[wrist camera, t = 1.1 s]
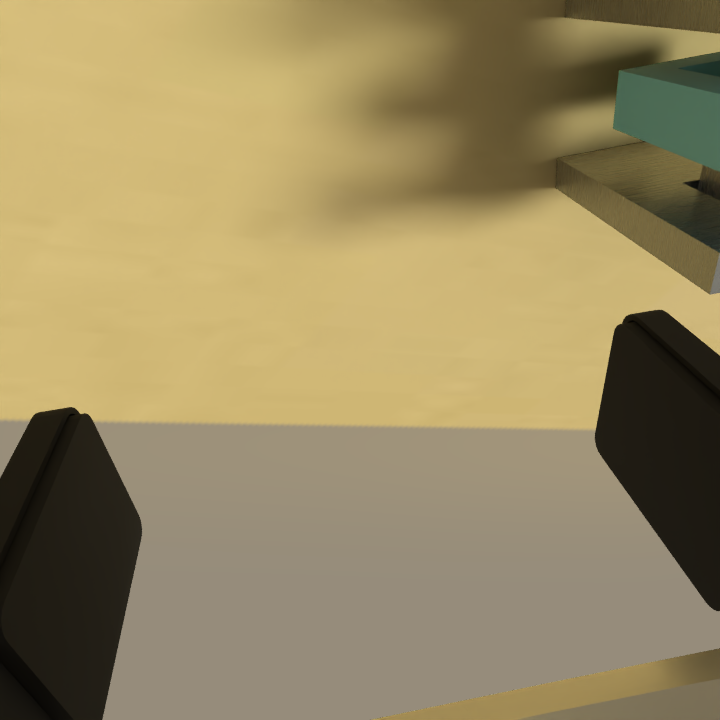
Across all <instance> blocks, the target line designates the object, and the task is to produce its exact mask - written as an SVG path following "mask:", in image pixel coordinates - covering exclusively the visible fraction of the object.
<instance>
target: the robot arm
mask: <svg viewBox="0 0 720 720" xmlns="http://www.w3.org/2000/svg"><path fill="white" fill-rule="evenodd" d="M595 442H596V447H597V449H598V452H599V453H600V455H601V456H602V458H603V459H604V461H605V462H606V463H607V465H608V466H609V468H610V469H611V470H612V471H613V473H614V475H615V476H616V477H617V479H618V480H619V482H620V483H621V484H622V486H623V487H624V489H625V490H626V491H627V493H628V494H629V495H630V497H631V498H632V500H633V501H634V503H635V504H636V505H637V507H638V508H639V509H640V511H641V512H642V514H643V515H644V516H645V518H646V519H647V521H648V522H649V523H650V525H651V526H652V528H653V529H654V530H655V532H656V533H657V535H658V536H659V537H660V539H661V540H662V542H663V543H664V544H665V546H666V547H667V549H668V550H669V551H670V553H671V554H672V556H673V557H674V558H675V560H676V561H677V562H678V564H679V565H680V567H681V568H682V570H683V571H684V572H685V574H686V575H687V577H688V578H689V579H690V581H691V582H692V584H693V585H694V586H695V588H696V589H697V590H698V592H699V593H700V595H701V596H702V597H703V599H704V600H705V601H706V603H707V604H708V605H709V606H710V607H711V608H712V609H714V610H716V611H720V356H719V355H718V354H717V353H716V352H715V351H713V350H712V349H711V348H710V347H708V346H707V345H706V344H705V343H704V342H702V341H701V340H700V339H699V338H697V337H696V336H695V335H694V334H692V333H691V332H690V331H689V330H688V329H686V328H685V327H684V326H683V325H681V324H680V323H679V322H678V321H677V320H675V319H674V318H673V317H672V316H670V315H669V314H668V313H667V312H665V311H663V310H654V311H648V312H642V313H636V314H630V315H628V316H626V317H625V319H624V320H623V323H622V324H619V325H617V327H616V328H615V331H614V335H613V340H612V346H611V351H610V357H609V362H608V367H607V373H606V378H605V383H604V389H603V394H602V400H601V405H600V410H599V416H598V421H597V427H596V432H595ZM141 536H142V526H141V520H140V517H139V515H138V513H137V511H136V509H135V507H134V504H133V502H132V501H131V498H130V496H129V494H128V492H127V490H126V488H125V486H124V484H123V482H122V480H121V478H120V476H119V474H118V472H117V470H116V467H115V465H114V463H113V461H112V459H111V457H110V455H109V453H108V451H107V449H106V447H105V445H104V443H103V441H102V439H101V437H100V435H99V433H98V431H97V429H96V426H95V424H94V422H93V420H92V419H91V417H90V416H89V415H88V414H85V413H84V414H80V413H79V412H78V411H77V410H76V409H75V408H72V407H69V408H63V409H57V410H51V411H45V412H39V413H36V414H35V415H34V416H33V417H32V419H31V421H30V422H29V424H28V426H27V428H26V430H25V432H24V434H23V436H22V438H21V440H20V442H19V443H18V445H17V447H16V449H15V451H14V453H13V455H12V457H11V459H10V461H9V463H8V464H7V466H6V468H5V470H4V472H3V474H2V476H1V478H0V720H102V718H103V714H104V709H105V704H106V700H107V695H108V690H109V686H110V681H111V677H112V672H113V667H114V663H115V658H116V653H117V648H118V644H119V639H120V635H121V630H122V625H123V621H124V616H125V611H126V607H127V602H128V597H129V593H130V588H131V583H132V579H133V574H134V570H135V565H136V560H137V556H138V551H139V546H140V542H141ZM372 720H720V648H719V649H714V650H709V651H704V652H700V653H695V654H690V655H685V656H680V657H675V658H670V659H665V660H660V661H655V662H650V663H645V664H640V665H635V666H631V667H625V668H621V669H616V670H611V671H605V672H600V673H595V674H591V675H585V676H580V677H576V678H571V679H566V680H561V681H556V682H551V683H546V684H541V685H537V686H532V687H527V688H522V689H517V690H512V691H508V692H503V693H498V694H493V695H488V696H483V697H479V698H474V699H469V700H464V701H459V702H454V703H450V704H445V705H440V706H435V707H430V708H426V709H421V710H416V711H411V712H407V713H401V714H397V715H392V716H387V717H382V718H377V719H372Z"/></svg>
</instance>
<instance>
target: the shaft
mask: <svg viewBox="0 0 720 720" xmlns="http://www.w3.org/2000/svg"><path fill="white" fill-rule="evenodd" d="M698 191H700V192H703V193H705V194H707V195H709V196H711V197H713V198H715V199H718V200H720V172H719V171H717V170H714V169H712V168H709V167H707V166H704V165H702V170H701V175H700V180H699V185H698Z"/></svg>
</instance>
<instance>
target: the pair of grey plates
mask: <svg viewBox="0 0 720 720" xmlns="http://www.w3.org/2000/svg"><path fill="white" fill-rule="evenodd" d="M565 18H574V19H583V20H593V21H603V22H613V23H622V24H632V25H642V26H652V27H661V28H671V29H681V30H691V31H701V32H710V33H720V0H566V9H565ZM701 170H702V164H699V163H697V162H694V161H692V160H689V159H687V158H685V157H682V156H680V155H677V154H675V153H672V152H670V151H667V150H665V149H662V148H660V147H657V146H655V145H653V144H650V143H648V142H640V143H634V144H629V145H624V146H619V147H613V148H608V149H603V150H598V151H592V152H587V153H582V154H577V155H571V156H566V157H561V158H557V175H556V189H558V190H559V191H561V192H562V193H564V194H565V195H567V196H568V197H569V198H571V199H572V200H574V201H575V202H577V203H578V204H580V205H581V206H582V207H584V208H585V209H587V210H588V211H590V212H591V213H593V214H594V215H595V216H597V217H598V218H600V219H601V220H603V221H604V222H606V223H607V224H609V225H610V226H611V227H613V228H614V229H616V230H617V231H619V232H620V233H622V234H623V235H624V236H626V237H627V238H629V239H630V240H632V241H633V242H635V243H636V244H637V245H639V246H640V247H642V248H643V249H645V250H646V251H648V252H649V253H650V254H652V255H653V256H655V257H656V258H658V259H659V260H661V261H662V262H664V263H665V264H666V265H668V266H669V267H671V268H672V269H674V270H675V271H677V272H678V273H679V274H681V275H682V276H684V277H685V278H687V279H688V280H690V281H691V282H692V283H694V284H695V285H697V286H698V287H700V288H701V289H703V290H704V291H706V292H707V293H708V294H715V293H720V200H718V199H715V198H713V197H711V196H709V195H707V194H705V193H703V192H700V191H698V185H699V180H700V175H701Z"/></svg>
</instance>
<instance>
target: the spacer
mask: <svg viewBox="0 0 720 720" xmlns="http://www.w3.org/2000/svg"><path fill="white" fill-rule="evenodd" d="M613 129H616V130H618V131H621V132H623V133H625V134H628V135H630V136H633V137H635V138H638V139H640V140H643V141H645V142H648V143H650V144H653V145H655V146H657V147H660V148H662V149H665V150H667V151H670V152H672V153H675V154H677V155H680V156H682V157H685V158H687V159H689V160H692V161H694V162H697V163H699V164H702V165H704V166H707V167H709V168H712V169H714V170H717V171H719V172H720V52H716V53H711V54H705V55H700V56H695V57H689V58H684V59H678V60H673V61H668V62H662V63H657V64H651V65H646V66H641V67H635V68H630V69H624V70H619V76H618V85H617V95H616V104H615V113H614V123H613Z"/></svg>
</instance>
